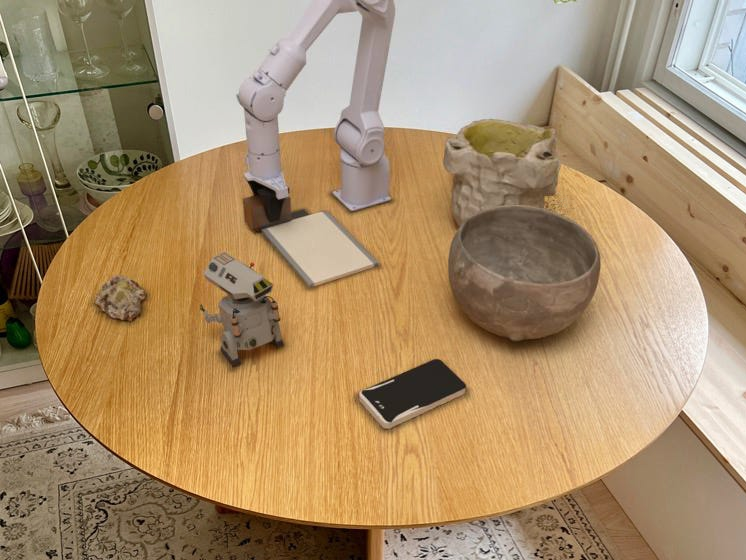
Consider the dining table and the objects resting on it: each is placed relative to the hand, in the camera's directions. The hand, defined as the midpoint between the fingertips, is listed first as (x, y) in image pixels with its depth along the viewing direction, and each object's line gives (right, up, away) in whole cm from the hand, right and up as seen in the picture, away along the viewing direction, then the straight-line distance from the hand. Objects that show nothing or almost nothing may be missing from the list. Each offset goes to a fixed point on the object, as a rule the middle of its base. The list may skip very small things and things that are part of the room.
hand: (269, 214), depth 143 cm
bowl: (+43, -21, -16) cm, 51 cm away
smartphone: (+26, -34, -30) cm, 53 cm away
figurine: (0, -26, -23) cm, 35 cm away
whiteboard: (+10, -7, -4) cm, 13 cm away
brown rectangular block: (0, -1, +1) cm, 1 cm away
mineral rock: (-22, -19, -17) cm, 34 cm away
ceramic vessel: (+44, 0, +5) cm, 45 cm away
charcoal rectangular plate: (+5, +1, +4) cm, 7 cm away
